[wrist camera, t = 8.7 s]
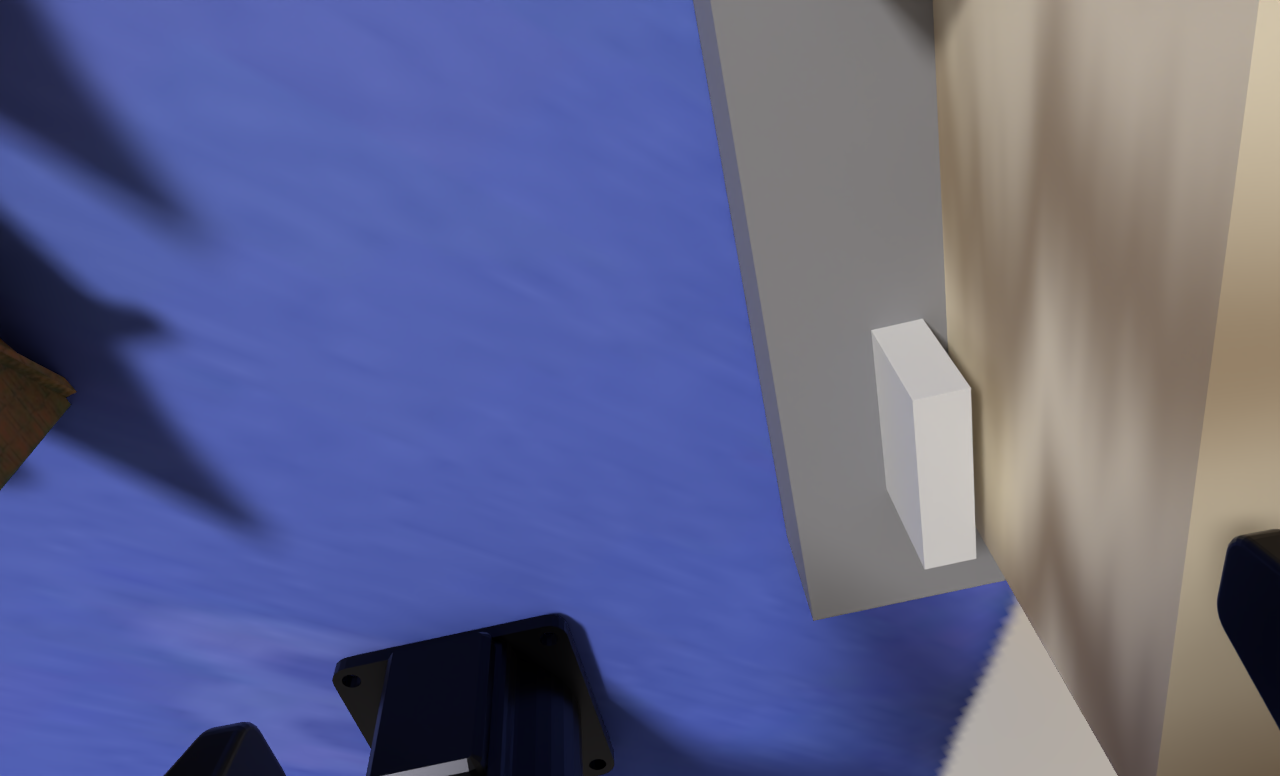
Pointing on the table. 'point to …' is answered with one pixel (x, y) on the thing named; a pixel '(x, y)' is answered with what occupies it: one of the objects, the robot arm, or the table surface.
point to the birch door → (1121, 342)
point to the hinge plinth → (848, 290)
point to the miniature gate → (26, 407)
